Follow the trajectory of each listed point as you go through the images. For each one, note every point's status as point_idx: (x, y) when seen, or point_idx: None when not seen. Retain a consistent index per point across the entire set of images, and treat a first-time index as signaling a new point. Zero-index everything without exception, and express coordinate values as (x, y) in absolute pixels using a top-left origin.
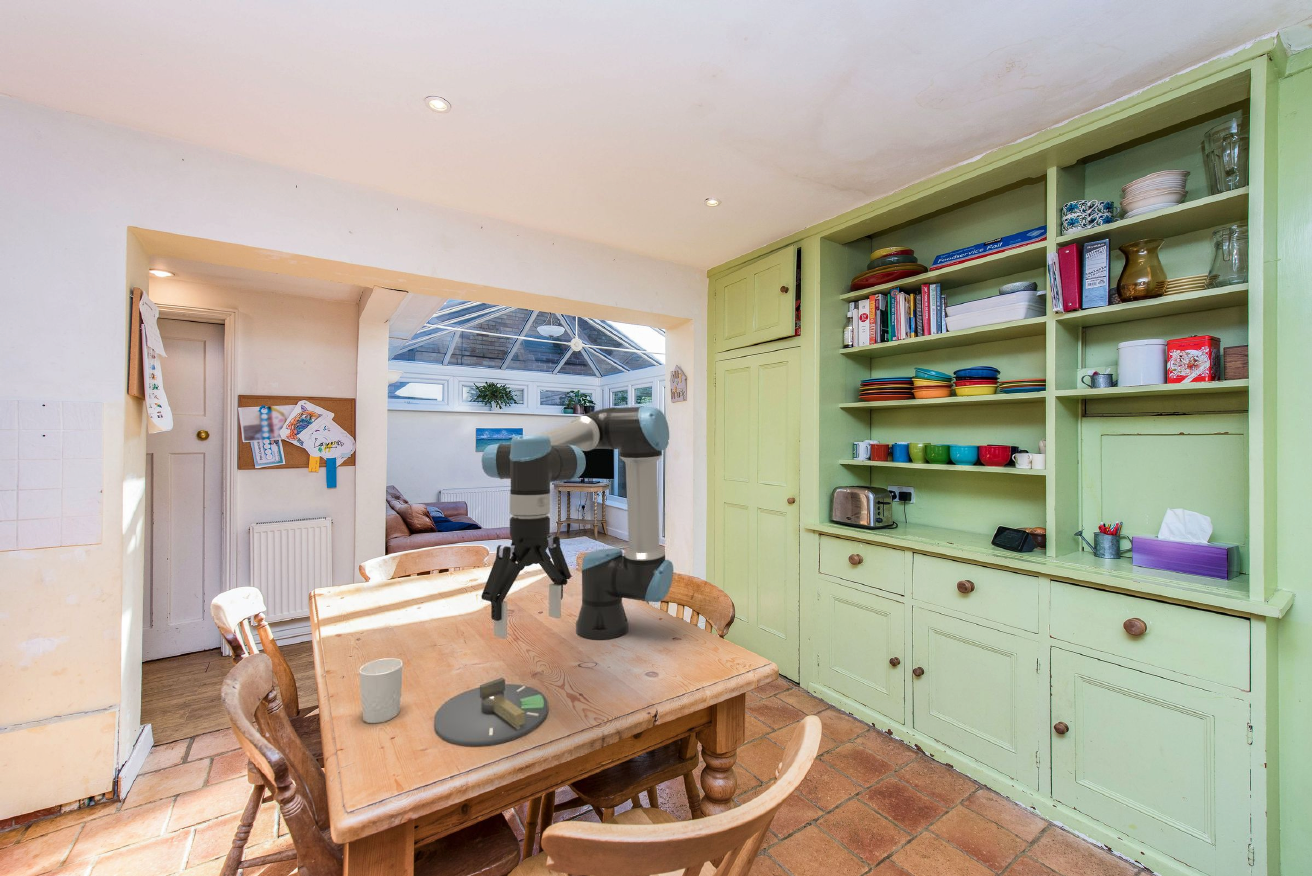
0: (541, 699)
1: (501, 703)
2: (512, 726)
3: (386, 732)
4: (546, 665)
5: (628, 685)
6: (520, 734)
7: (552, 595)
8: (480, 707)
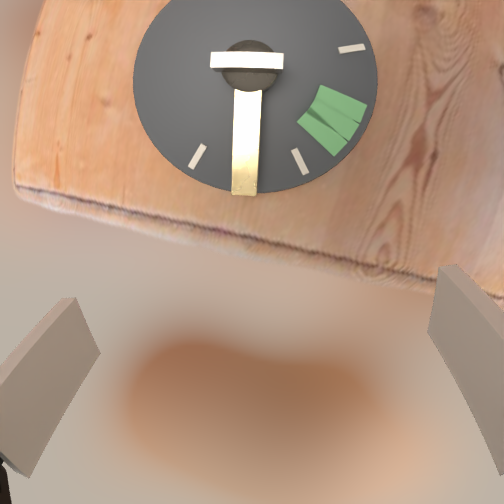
0: (354, 125)
1: (239, 121)
2: None
3: (90, 15)
4: (459, 7)
5: (497, 209)
6: None
7: (495, 379)
8: None
